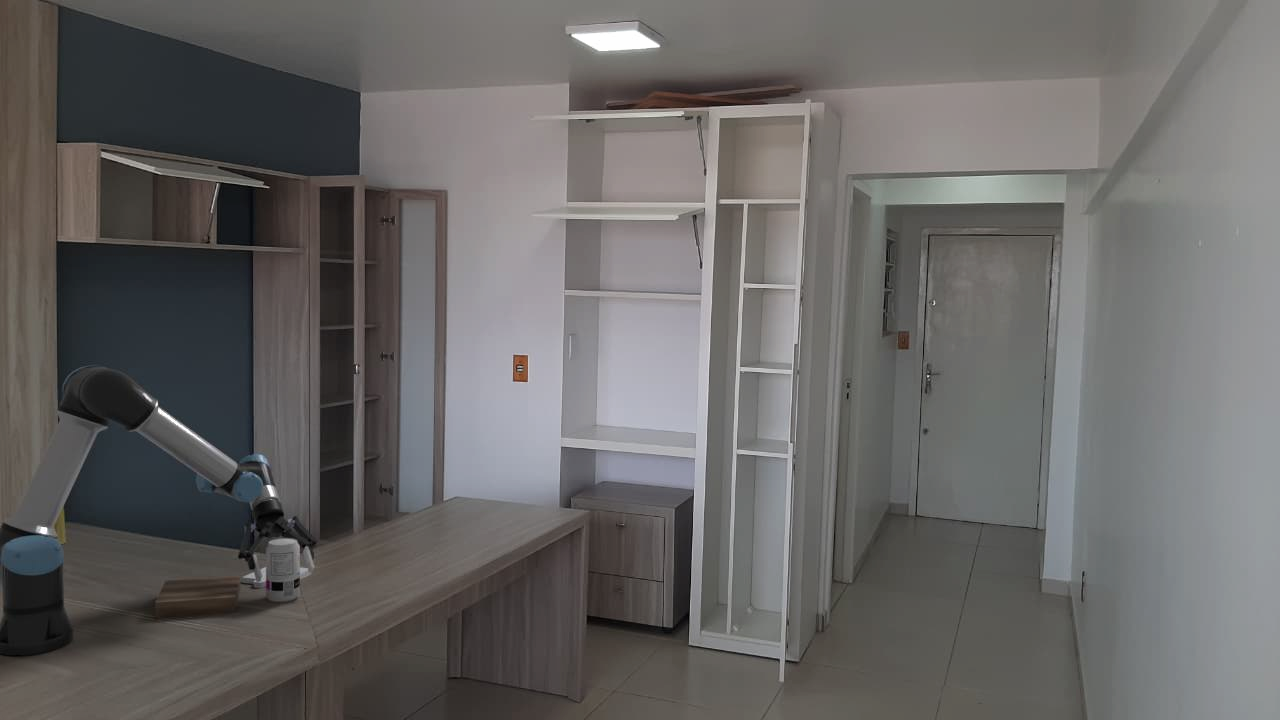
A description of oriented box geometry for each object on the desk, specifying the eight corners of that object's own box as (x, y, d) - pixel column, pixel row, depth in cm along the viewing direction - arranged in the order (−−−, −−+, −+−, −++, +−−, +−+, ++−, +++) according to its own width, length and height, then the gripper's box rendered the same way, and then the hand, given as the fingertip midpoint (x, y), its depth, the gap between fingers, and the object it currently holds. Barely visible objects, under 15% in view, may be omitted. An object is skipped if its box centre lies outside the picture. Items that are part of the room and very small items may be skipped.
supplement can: (259, 599, 253) (259, 542, 252) (284, 591, 260) (284, 535, 259) (281, 605, 249) (281, 547, 248) (306, 596, 257) (306, 540, 255)
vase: (44, 542, 301) (43, 496, 300) (67, 540, 304) (66, 495, 302) (41, 547, 295) (40, 500, 294) (65, 545, 298) (64, 499, 297)
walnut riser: (235, 612, 243) (234, 596, 243) (155, 618, 237) (155, 602, 237) (240, 590, 260) (240, 575, 260) (165, 595, 254) (165, 580, 254)
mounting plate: (277, 568, 282) (277, 561, 281) (316, 572, 278) (316, 566, 278) (236, 586, 264) (236, 579, 264) (277, 591, 261) (277, 584, 261)
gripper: (308, 508, 273) (329, 573, 263) (214, 520, 257) (233, 590, 247) (315, 493, 269) (336, 559, 258) (220, 504, 253) (239, 575, 242)
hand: (286, 574), depth 253 cm, fingers open, 13 cm apart
